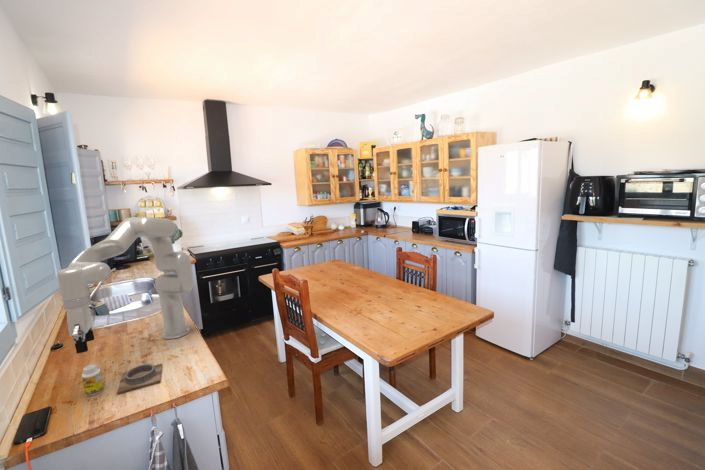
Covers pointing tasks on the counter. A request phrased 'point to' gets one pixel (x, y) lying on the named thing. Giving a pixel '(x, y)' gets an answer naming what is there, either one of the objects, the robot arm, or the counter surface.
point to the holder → (140, 378)
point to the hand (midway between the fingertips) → (85, 346)
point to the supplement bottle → (92, 380)
